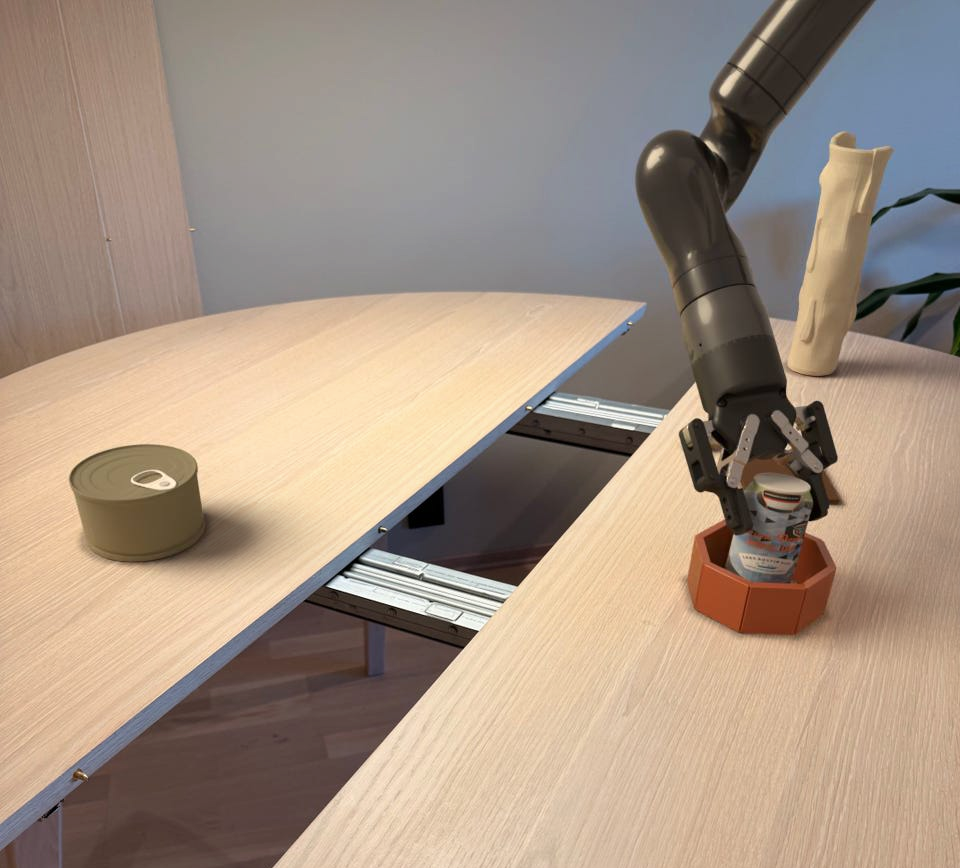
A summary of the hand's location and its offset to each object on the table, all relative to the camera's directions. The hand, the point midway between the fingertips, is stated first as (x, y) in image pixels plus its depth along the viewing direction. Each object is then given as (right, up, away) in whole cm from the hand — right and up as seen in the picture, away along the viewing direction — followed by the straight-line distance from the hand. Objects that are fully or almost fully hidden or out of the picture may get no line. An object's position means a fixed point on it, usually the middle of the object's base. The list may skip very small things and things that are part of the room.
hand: (781, 525), depth 86 cm
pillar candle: (+21, +29, +54) cm, 65 cm away
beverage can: (-1, -6, +6) cm, 9 cm away
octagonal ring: (-1, -6, +6) cm, 9 cm away
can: (-60, +1, +13) cm, 62 cm away
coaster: (+8, +8, +25) cm, 28 cm away
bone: (+4, +13, +33) cm, 35 cm away
